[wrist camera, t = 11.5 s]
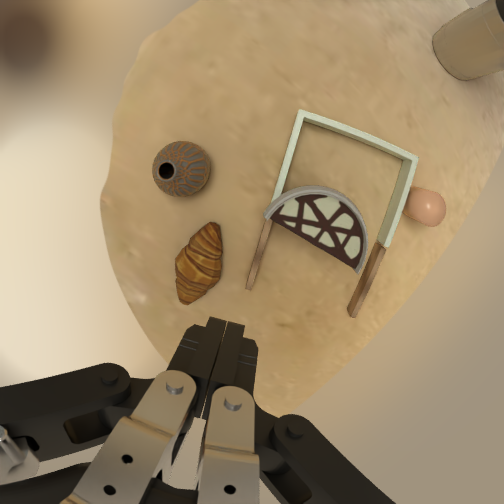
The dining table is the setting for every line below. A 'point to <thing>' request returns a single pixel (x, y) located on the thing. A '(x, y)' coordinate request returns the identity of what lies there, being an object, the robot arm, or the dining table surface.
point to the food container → (323, 221)
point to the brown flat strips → (362, 285)
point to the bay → (408, 158)
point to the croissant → (199, 264)
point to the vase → (181, 168)
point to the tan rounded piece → (425, 206)
